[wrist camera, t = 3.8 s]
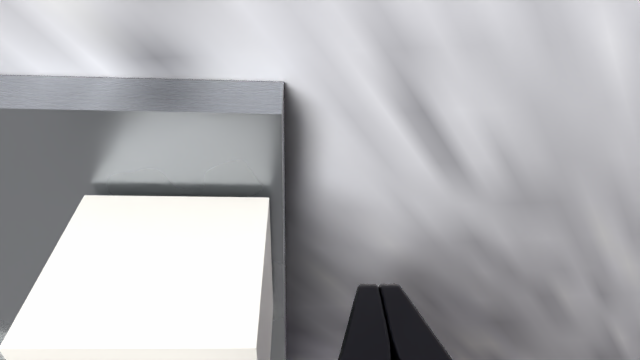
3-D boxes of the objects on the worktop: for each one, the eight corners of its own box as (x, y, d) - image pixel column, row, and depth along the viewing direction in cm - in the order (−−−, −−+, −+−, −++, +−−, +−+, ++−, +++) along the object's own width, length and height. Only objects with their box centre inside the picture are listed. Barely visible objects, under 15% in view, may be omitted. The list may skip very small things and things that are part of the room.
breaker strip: (283, 82, 9) (277, 170, 7) (286, 425, 18) (284, 508, 16) (-264, 68, 8) (-459, 160, 6) (28, 427, 18) (-10, 513, 16)
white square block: (269, 197, 9) (255, 348, 6) (273, 306, 11) (264, 450, 9) (84, 195, 9) (-3, 349, 6) (125, 306, 11) (73, 453, 9)
